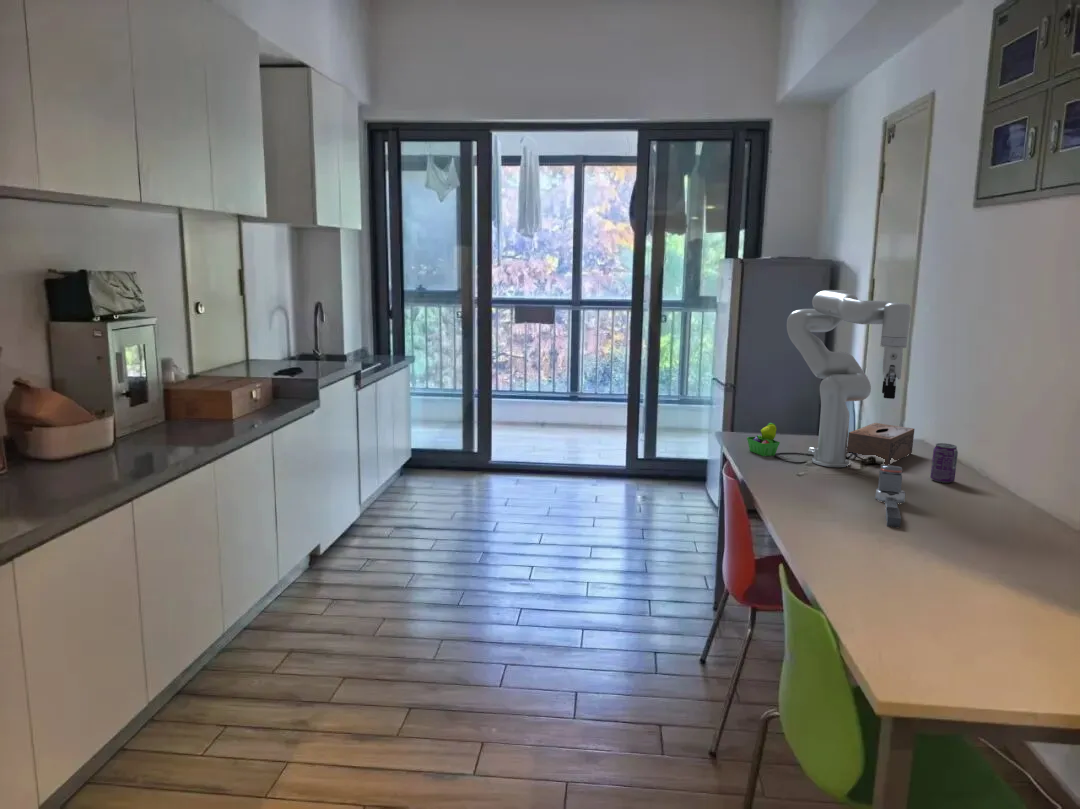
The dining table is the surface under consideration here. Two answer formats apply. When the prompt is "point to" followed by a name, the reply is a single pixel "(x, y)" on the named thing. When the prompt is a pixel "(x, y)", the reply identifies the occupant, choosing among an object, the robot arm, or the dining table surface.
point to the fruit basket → (764, 441)
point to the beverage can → (944, 463)
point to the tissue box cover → (882, 441)
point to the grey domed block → (890, 478)
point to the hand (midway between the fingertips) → (888, 395)
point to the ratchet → (891, 505)
